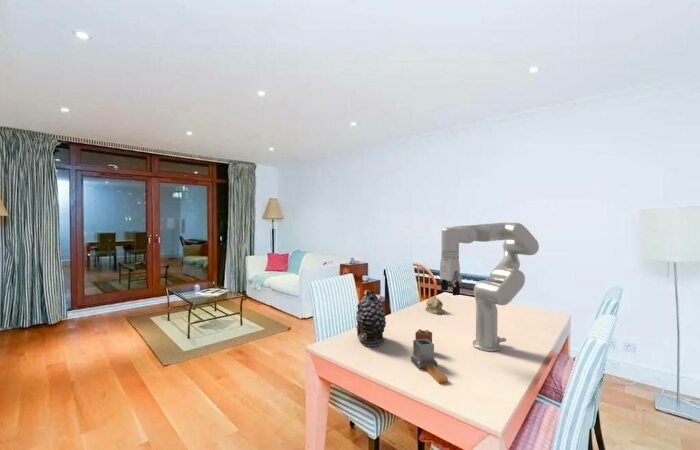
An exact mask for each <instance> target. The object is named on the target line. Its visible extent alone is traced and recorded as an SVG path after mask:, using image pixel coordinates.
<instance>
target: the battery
mask: <svg viewBox="0 0 700 450" xmlns="http://www.w3.org/2000/svg"><path fill="white" fill-rule="evenodd" d="M414 335H415V339H414V340H419V339H428V340H429V341H430V342H432V343H433V332H432V331H430V330H429V329H425V330H422V329H421V328H419V329H418V330H417V331H415V333H414Z"/></svg>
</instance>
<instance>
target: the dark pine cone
mask: <svg viewBox="0 0 700 450" xmlns="http://www.w3.org/2000/svg"><path fill="white" fill-rule="evenodd" d="M375 294H376V293H375V291H370V290H369V289H366V290H364V292H363V295H364V296H363V297H362V298H361V300H360V301H359V302H358V303H357V306H356V307H357V310H356V311H357V312H356V313H355V314H356V316H355V319H356V323H357V324H356V325H355V328H356V332H357V333H356V334H357V335H356V336H357V337H358V340H359V342H360V343H361V345H363V346H366V347H377V346H381V345H383V344H384V341H385V339H384V338H385V337H384V334H383V333H384V332H385V328H386V327H387V322H386V313H385V312H384V307H383V304H382V302H381V300H380V299H379V297H378V296H377V295H375Z"/></svg>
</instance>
